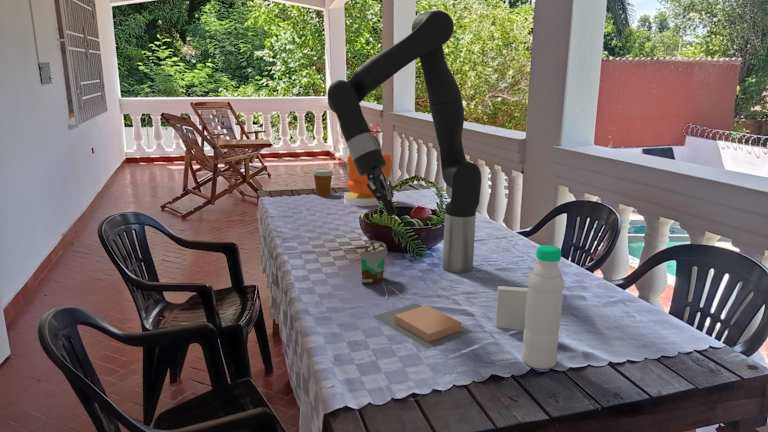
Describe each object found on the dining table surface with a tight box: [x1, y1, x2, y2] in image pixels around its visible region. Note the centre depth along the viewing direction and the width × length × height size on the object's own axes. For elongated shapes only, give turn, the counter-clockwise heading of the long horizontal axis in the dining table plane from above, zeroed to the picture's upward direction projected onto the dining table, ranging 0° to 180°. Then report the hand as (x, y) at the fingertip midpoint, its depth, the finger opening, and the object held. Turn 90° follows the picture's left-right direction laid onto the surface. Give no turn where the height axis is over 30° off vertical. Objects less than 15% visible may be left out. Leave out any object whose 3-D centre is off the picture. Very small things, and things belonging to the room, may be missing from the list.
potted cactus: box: [343, 123, 393, 207], centre depth 252 cm, size 22×22×35 cm
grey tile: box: [494, 285, 529, 332], centre depth 131 cm, size 2×8×10 cm, turn 83°
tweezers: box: [380, 281, 404, 301], centre depth 155 cm, size 18×5×2 cm, turn 14°
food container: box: [360, 240, 388, 286], centre depth 160 cm, size 12×6×10 cm, turn 168°
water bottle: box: [521, 244, 565, 370], centre depth 114 cm, size 7×7×25 cm
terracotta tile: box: [395, 304, 462, 342], centre depth 131 cm, size 2×10×12 cm
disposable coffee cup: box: [312, 168, 334, 197], centre depth 269 cm, size 10×10×12 cm
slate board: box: [372, 302, 473, 349], centre depth 133 cm, size 20×14×1 cm
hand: (393, 215), depth 144 cm, fingers closed
